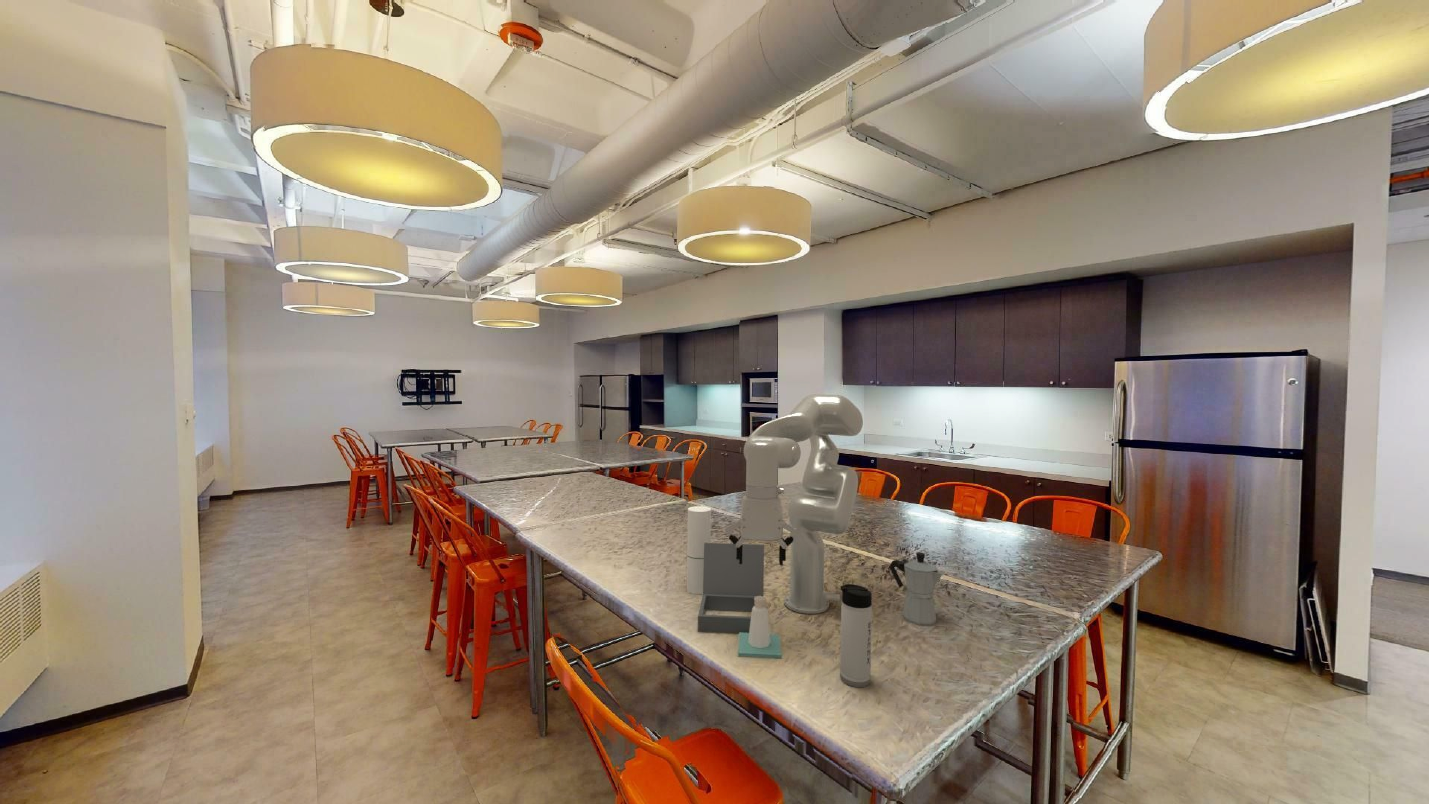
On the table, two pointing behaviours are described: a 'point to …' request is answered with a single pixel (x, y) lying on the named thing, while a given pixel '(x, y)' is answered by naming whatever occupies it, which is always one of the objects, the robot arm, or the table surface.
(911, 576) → the coffee maker
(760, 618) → the salt shaker
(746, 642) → the pad
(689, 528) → the cylindrical container
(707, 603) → the case
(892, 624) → the table surface
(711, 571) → the lid
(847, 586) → the travel mug
